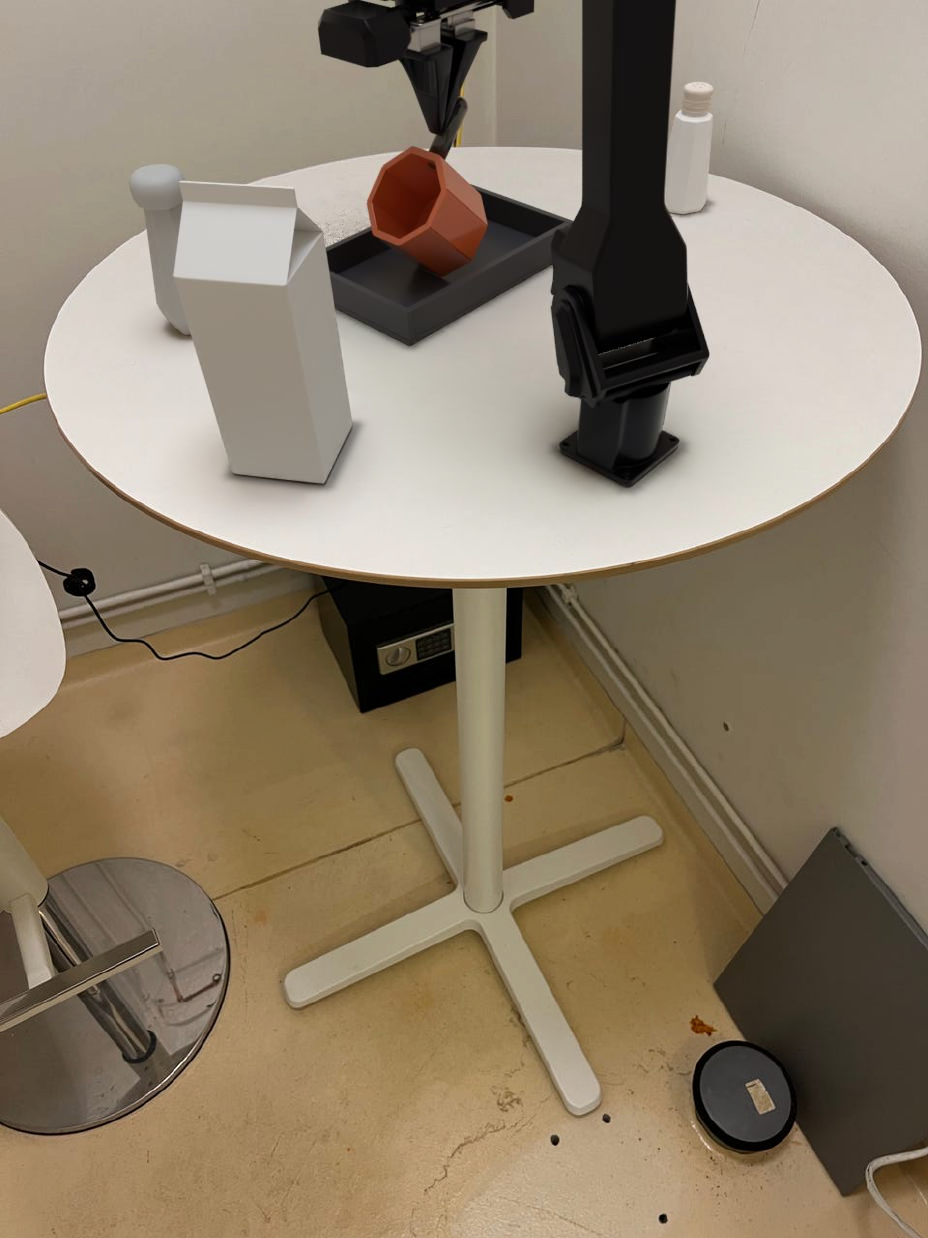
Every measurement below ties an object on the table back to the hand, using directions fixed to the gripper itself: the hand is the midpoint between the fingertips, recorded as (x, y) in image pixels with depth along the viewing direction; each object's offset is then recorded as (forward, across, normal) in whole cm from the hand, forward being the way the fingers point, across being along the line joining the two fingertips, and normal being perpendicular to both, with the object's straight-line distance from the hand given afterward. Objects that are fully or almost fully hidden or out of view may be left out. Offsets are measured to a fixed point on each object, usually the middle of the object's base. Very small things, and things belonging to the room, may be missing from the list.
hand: (436, 132), depth 72 cm
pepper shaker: (+12, -27, +9) cm, 31 cm away
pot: (+7, -3, 0) cm, 7 cm away
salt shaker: (+12, +21, -10) cm, 27 cm away
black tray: (+12, 0, 0) cm, 12 cm away
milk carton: (+12, +27, +11) cm, 32 cm away
